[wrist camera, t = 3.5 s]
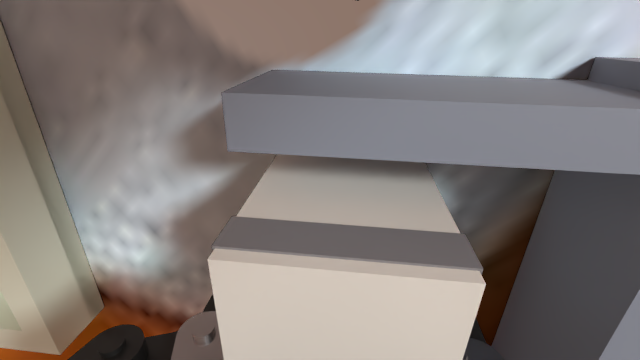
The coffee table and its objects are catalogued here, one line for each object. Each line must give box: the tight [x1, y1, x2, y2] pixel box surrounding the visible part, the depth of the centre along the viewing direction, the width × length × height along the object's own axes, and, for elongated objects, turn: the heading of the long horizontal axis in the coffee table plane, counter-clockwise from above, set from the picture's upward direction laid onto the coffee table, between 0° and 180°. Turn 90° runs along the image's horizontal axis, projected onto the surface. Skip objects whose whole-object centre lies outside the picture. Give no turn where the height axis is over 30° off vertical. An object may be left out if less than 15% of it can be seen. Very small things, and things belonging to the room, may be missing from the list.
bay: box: [221, 57, 640, 360], centre depth 10 cm, size 14×10×4 cm
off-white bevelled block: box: [207, 154, 486, 360], centre depth 10 cm, size 8×5×6 cm, turn 179°
